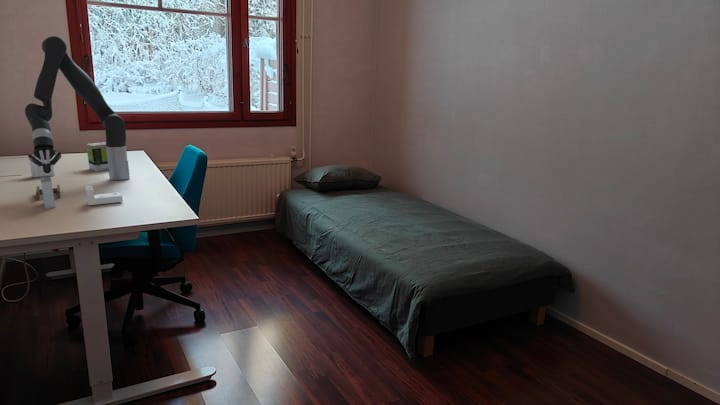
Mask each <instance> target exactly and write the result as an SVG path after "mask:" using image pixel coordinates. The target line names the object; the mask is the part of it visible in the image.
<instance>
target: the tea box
mask: <svg viewBox="0 0 720 405" xmlns="http://www.w3.org/2000/svg"><path fill="white" fill-rule="evenodd" d="M85 146H86V147H85V148H86V152H87V153H86V154H87V160H88V166H89V169H90V170H92V171H94V172H101V171H109V168H108V159H107V150H106V141H103V142H95V143H86V144H85Z"/></svg>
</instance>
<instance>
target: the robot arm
mask: <svg viewBox="0 0 720 405" xmlns="http://www.w3.org/2000/svg"><path fill="white" fill-rule="evenodd" d="M41 49H42V51H43V54H44V59H43V64H42V67H41V70H40V72H39V76H38V77H37V81H36V84H35V89H34V92H33V98H35V99H37V100H38V101H40V102H41V103H42V105H41V104H36V103H33V102H32V103H31V102H30V103H28V104H27V105H26V106H25V109H24V114H25V117H26V118H27V121H28V123H29V125H30V127H31V132H32V143H33V144H32V145H33V152H32V154H28V155H27V156H28V160H29V161H30V160H31V161H32V162H33V163H35V164H36V165H38V166H43V171H44V172H46V173H50V172H51V165H54V166H55V165H56V164H57V163H58V162H59V160H61V158H62V157H63V156H62V153H61V152H60V151H59V152H57V151H56V149H55V147H54V140H53V135H52V133H51V126H50V123H49V121H51V119H52V118H53V106H52V105H53V95H54V90H55V85H56V82H57V81H56V80H57V77H58V73H59V70H60V72H61V73H62V75H63V76H64V78H65V80H67V81H68V83H69V84H70V86H71V87H72V88H73V90H74V91H75V92H76V94H77V95H78V96H79V97H80V98H81V100H83V101H84V102H85V104H86V106H88V107H89V108H90V109H91V110H92V111H93V112H94V113H95V115H96V116H97V118H98V119H99V121H100V123H101V124H102V126H103V128H104V130H105V142H106V150H107V159H108V168H109V170H108V176H109V180H111V181H124V180H130V178H131V177H130V169H129V168H130V167H129V160H128V152H127V132H126V124H125V123H126V122H125V121H124V119H123V118H122V116H120V115H118V114H116V112H115V111H114V110H113V109H112V108H111V107H110V106H109V104H108V103H107V102H106V100H105V98H104V96H103V94H102V92H101V91H100V89H99V87H98V86H97V84H96V83H95V82H94V81H93V79H92V78H91V77H90V76H89V75H88V74H87V72H85V70H83V69H82V68H81V67H80V66H78V65H77V64H76V62H74V60H73V58H71V56H70V55H69V54H68V52H67V50H68V46H67V43H66V41H65V40H64V39H63V38H62V37H59V36H56V35H55V36H53V35H52V36H48V37H47V38H45V39H43V41H42V42H41ZM35 156H36V157H37V158H38V159H40V160H41V161H42V162H40V161H39V160H37V159H36V158H35ZM52 158H53V159H52ZM50 159H52V160H51V161H50ZM45 160H47V164H46V163H45Z"/></svg>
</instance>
